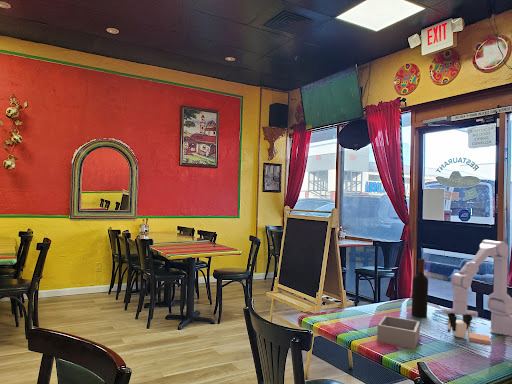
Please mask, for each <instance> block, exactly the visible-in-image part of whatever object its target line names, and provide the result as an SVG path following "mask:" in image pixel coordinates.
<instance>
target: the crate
mask: <svg viewBox="0 0 512 384" xmlns="http://www.w3.org/2000/svg"><path fill="white" fill-rule="evenodd" d="M420 329H421V321H419V320H413V319H407V318H402V317H395V316H390V315H384V316H383V317H382V318H381V320H380V322H379V323H378V324H377V331H376V332H377V334H376V335H377V337H376V338H377V339H376V342H377V343H381V344H388V345H392V346H397V347H402V348H407V349H412V350H416V348H417V345H418V343H419V339H420Z"/></svg>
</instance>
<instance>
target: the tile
mask: <svg viewBox="0 0 512 384" xmlns="http://www.w3.org/2000/svg"><path fill="white" fill-rule="evenodd" d="M468 341H469V342H473V343H477V344H478V343H479V344H485V345H491V338H490V335H486V334H480V333H474V332H471V333H470V332H469V335H468Z"/></svg>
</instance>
